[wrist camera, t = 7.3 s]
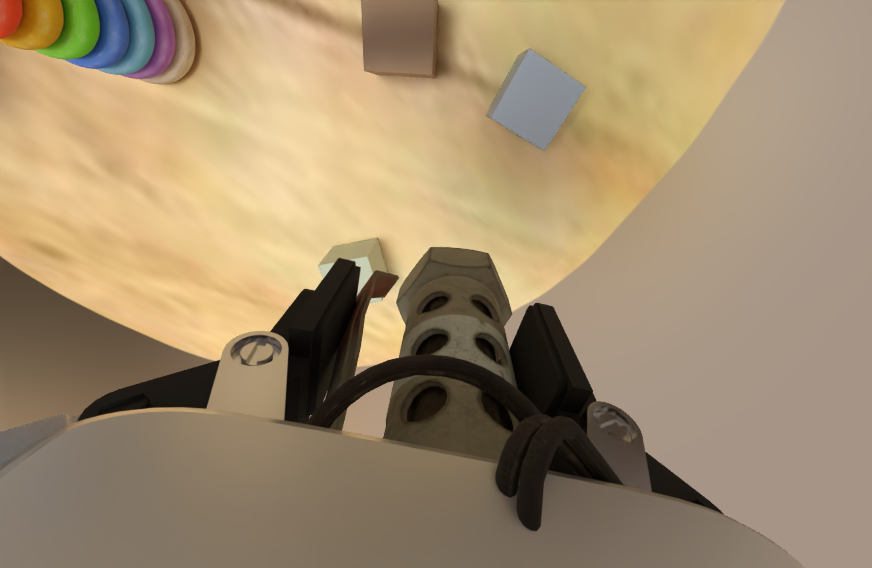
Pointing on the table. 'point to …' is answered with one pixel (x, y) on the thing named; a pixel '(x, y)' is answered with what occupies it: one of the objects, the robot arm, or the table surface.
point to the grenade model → (460, 380)
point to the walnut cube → (400, 37)
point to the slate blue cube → (535, 99)
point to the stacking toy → (105, 35)
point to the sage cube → (357, 260)
